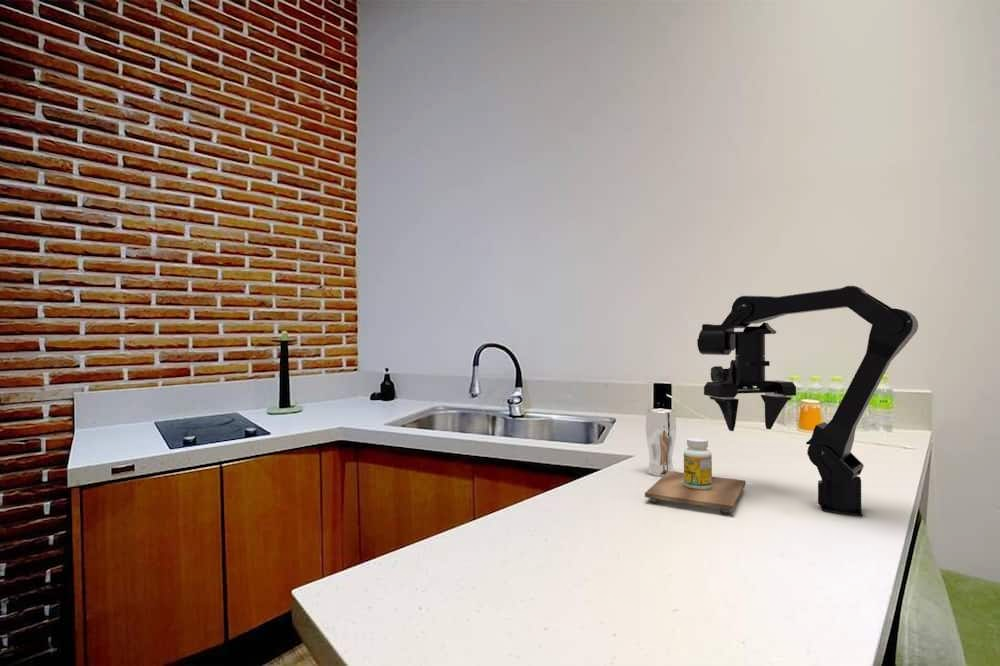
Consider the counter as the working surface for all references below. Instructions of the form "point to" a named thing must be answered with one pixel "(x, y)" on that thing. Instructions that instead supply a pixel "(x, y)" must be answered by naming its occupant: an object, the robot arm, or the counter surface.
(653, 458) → the beer glass
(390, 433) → the counter surface
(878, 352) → the robot arm
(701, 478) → the supplement bottle
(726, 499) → the peg shelf
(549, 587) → the counter surface
